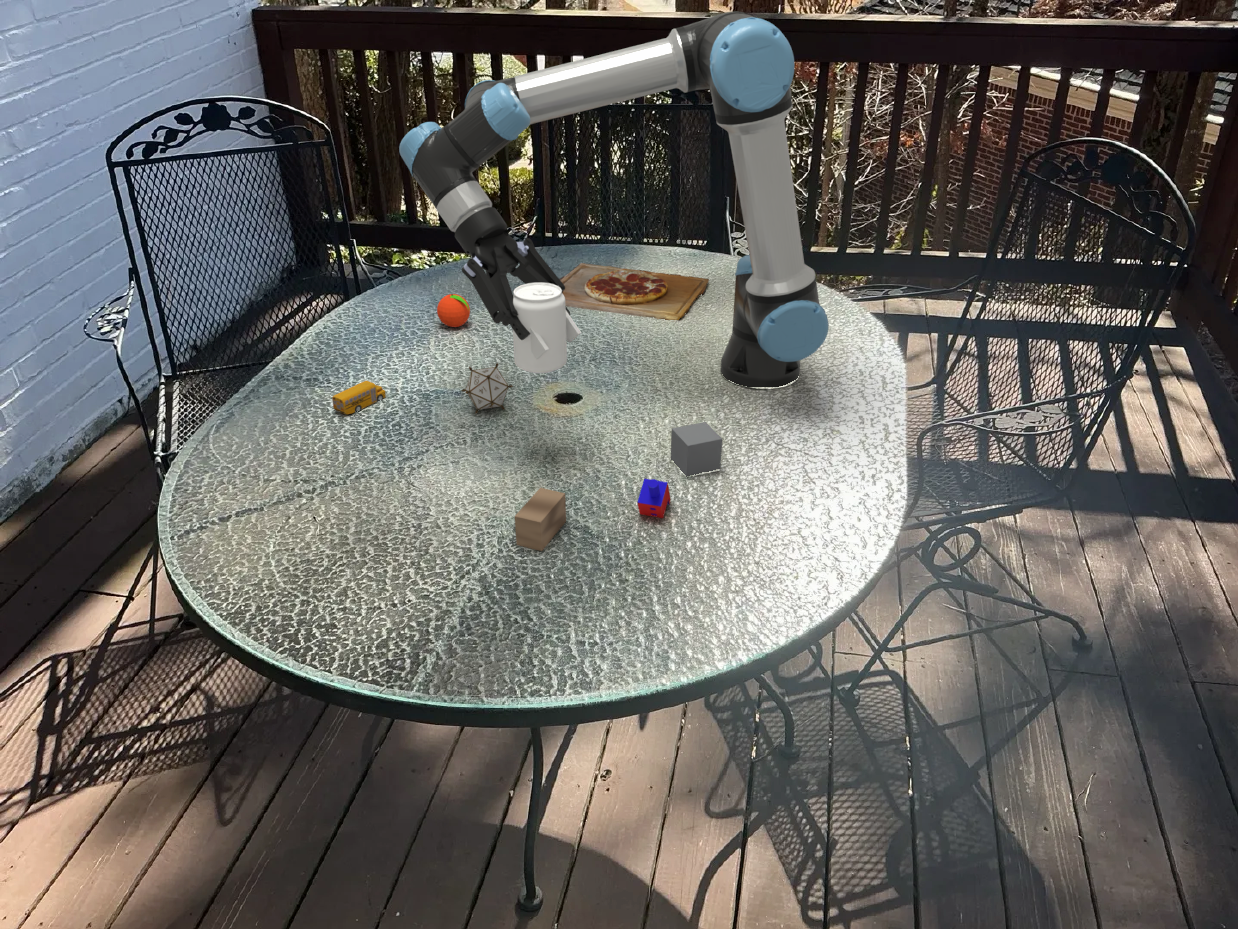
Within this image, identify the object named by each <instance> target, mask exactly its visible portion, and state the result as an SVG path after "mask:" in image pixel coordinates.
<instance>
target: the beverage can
mask: <svg viewBox="0 0 1238 929" xmlns="http://www.w3.org/2000/svg"><path fill="white" fill-rule="evenodd" d="M512 294H513V297H514V298H513V304H514V307H515V309H516V310H517V312H518V316H517V317H518V319H519V320H520V322H521V323H522V324H523V326H524V327H525V328H526V329H527V330H528V331H529V332H530V328H531V329H532V330H533V331H534V332H536V333H537V334H539V335H540V336H541V338H542V339H543V341H544V342H545V344H546V345H547V347H548V348H549V350H547V351H546V352H545V353H544V354H543V355H542V356H541V357H540V358H538V359H536V358H535V356H534V355H533V353H532V352H531V334H530V335H529V336H528V337H526V338H525V339H524V340H521V339H519V337H518V336H517V334H516V333H515V332H514V330H513V329H512V340H513V343H512V344H513V356H514V357H513V359H514V364H515V366H516V367H517V368H518V369H520V370H523V371H526V372H529V373H532V374H533V373H534V374H548V373H551V372H555V371H557V370H560V369H561V368H563V367H565V365H566V364H567V362H568V348H567V347H568V346H567V341H568V340H567V339H566V307H567V306H566V307H565V297H564V295H563V294H562V290H561V288H560V287H559V286H557V285H554V284H550V283H528V284H525V283H523V284H521V285H519V286H517V287H516V288H514V290H513V293H512ZM530 333H531V332H530Z"/></svg>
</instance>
